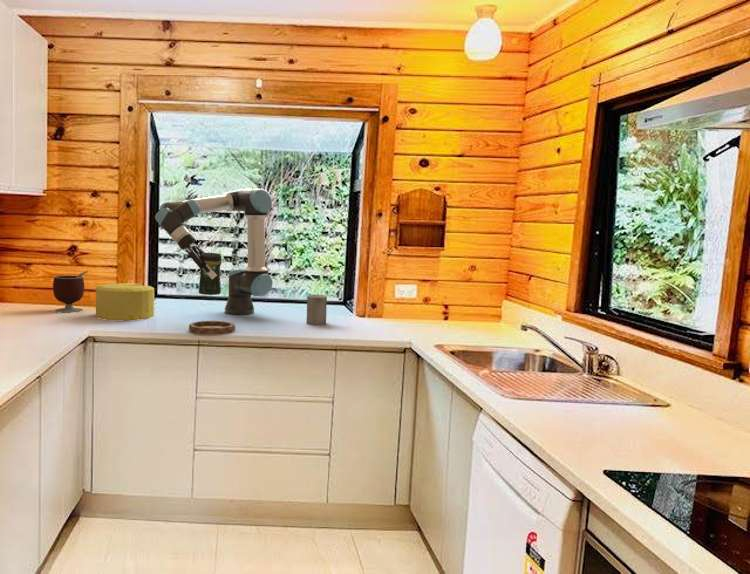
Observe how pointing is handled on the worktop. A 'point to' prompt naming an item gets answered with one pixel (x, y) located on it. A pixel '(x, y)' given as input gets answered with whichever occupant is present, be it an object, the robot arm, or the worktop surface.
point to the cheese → (124, 301)
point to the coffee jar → (206, 283)
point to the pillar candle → (316, 309)
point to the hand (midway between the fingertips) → (217, 276)
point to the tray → (212, 327)
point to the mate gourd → (68, 291)
